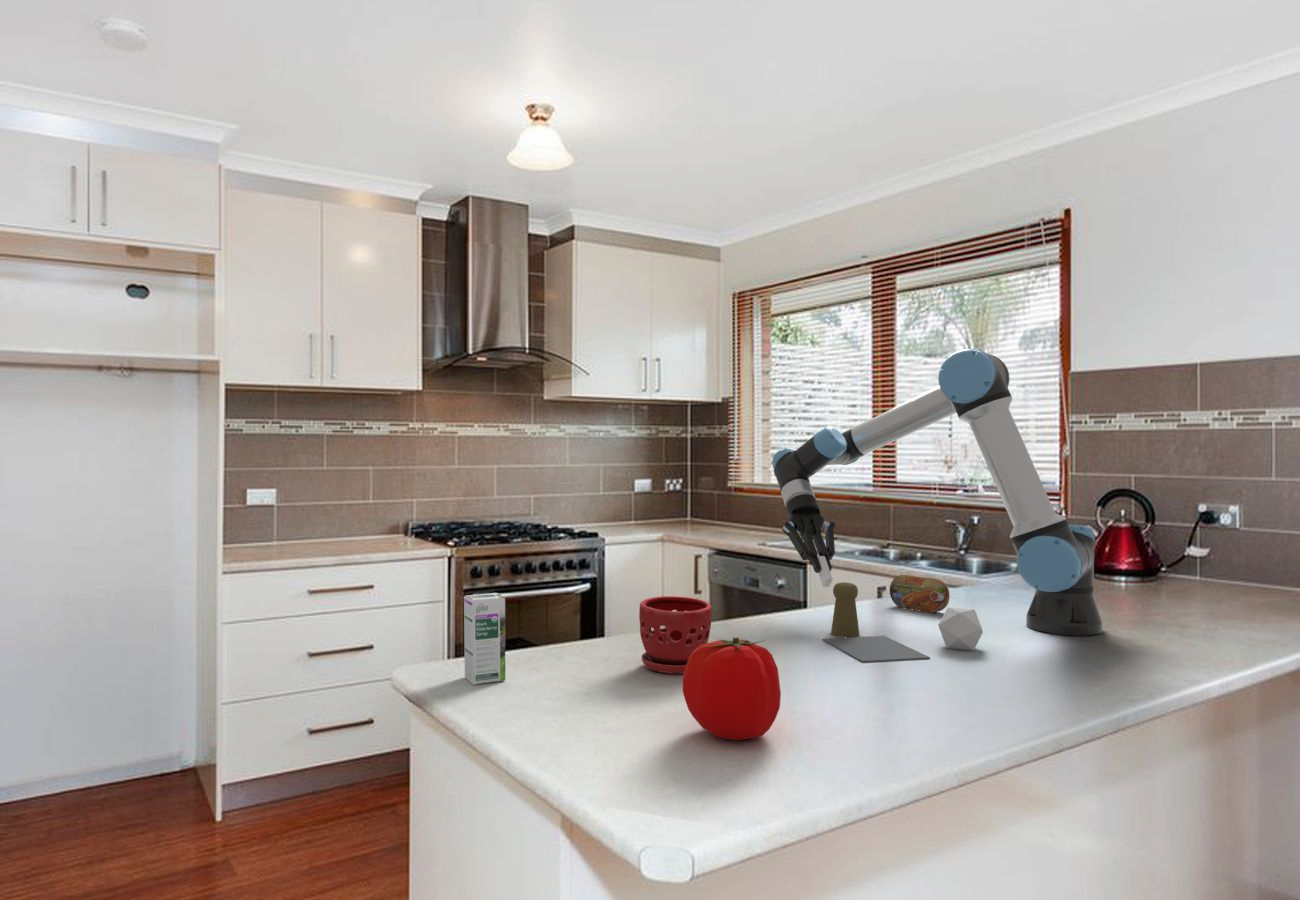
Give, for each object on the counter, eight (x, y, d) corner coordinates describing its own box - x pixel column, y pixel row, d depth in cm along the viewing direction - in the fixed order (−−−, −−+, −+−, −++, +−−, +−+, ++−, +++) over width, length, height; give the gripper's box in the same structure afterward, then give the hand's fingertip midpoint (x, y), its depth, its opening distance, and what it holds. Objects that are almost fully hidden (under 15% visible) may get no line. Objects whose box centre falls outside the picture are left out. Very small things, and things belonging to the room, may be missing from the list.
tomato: (779, 756, 110) (780, 652, 110) (675, 749, 113) (676, 647, 113) (781, 718, 126) (782, 626, 126) (690, 712, 128) (690, 622, 128)
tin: (888, 606, 211) (889, 572, 211) (895, 604, 214) (895, 571, 213) (944, 615, 200) (945, 580, 200) (951, 613, 203) (951, 579, 202)
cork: (864, 634, 180) (865, 583, 180) (850, 639, 176) (851, 586, 176) (839, 629, 185) (840, 579, 184) (825, 634, 180) (825, 583, 180)
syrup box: (472, 685, 141) (473, 599, 141) (463, 676, 147) (463, 593, 146) (505, 681, 144) (506, 596, 144) (495, 672, 149) (495, 591, 149)
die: (986, 648, 171) (960, 606, 175) (997, 636, 163) (971, 592, 168) (950, 664, 170) (925, 621, 175) (960, 652, 162) (934, 608, 167)
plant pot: (628, 673, 149) (628, 606, 149) (653, 656, 161) (653, 593, 161) (699, 681, 145) (699, 611, 144) (719, 662, 157) (719, 598, 157)
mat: (822, 640, 175) (822, 638, 175) (884, 637, 178) (884, 635, 178) (862, 662, 157) (862, 660, 157) (930, 658, 160) (930, 657, 160)
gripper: (821, 512, 208) (849, 592, 192) (771, 512, 205) (795, 593, 189) (830, 492, 203) (860, 572, 187) (779, 492, 200) (805, 574, 184)
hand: (827, 583), depth 188 cm, fingers closed
